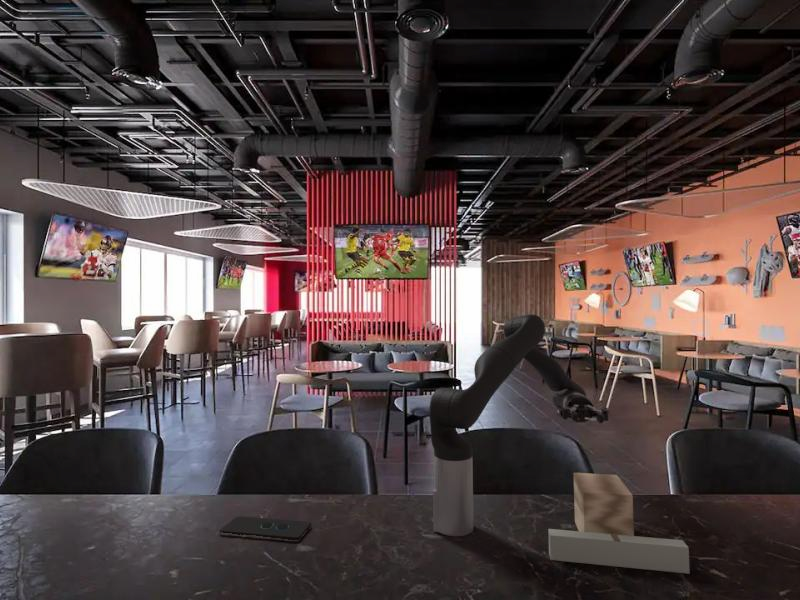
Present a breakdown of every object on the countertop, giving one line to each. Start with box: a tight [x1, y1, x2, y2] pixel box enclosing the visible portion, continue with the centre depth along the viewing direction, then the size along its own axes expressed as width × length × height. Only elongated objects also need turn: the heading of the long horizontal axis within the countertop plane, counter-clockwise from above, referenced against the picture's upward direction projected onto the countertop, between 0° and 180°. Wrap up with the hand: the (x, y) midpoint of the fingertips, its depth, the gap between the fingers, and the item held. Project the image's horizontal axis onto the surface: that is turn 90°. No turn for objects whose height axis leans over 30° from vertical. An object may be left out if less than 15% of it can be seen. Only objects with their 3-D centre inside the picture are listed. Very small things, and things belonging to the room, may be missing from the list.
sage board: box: [547, 528, 691, 574], centre depth 92 cm, size 26×3×5 cm, turn 78°
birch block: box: [573, 472, 635, 536], centre depth 104 cm, size 10×13×12 cm
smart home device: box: [219, 515, 312, 540], centre depth 107 cm, size 8×2×20 cm
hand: (588, 418), depth 117 cm, fingers open, 5 cm apart
